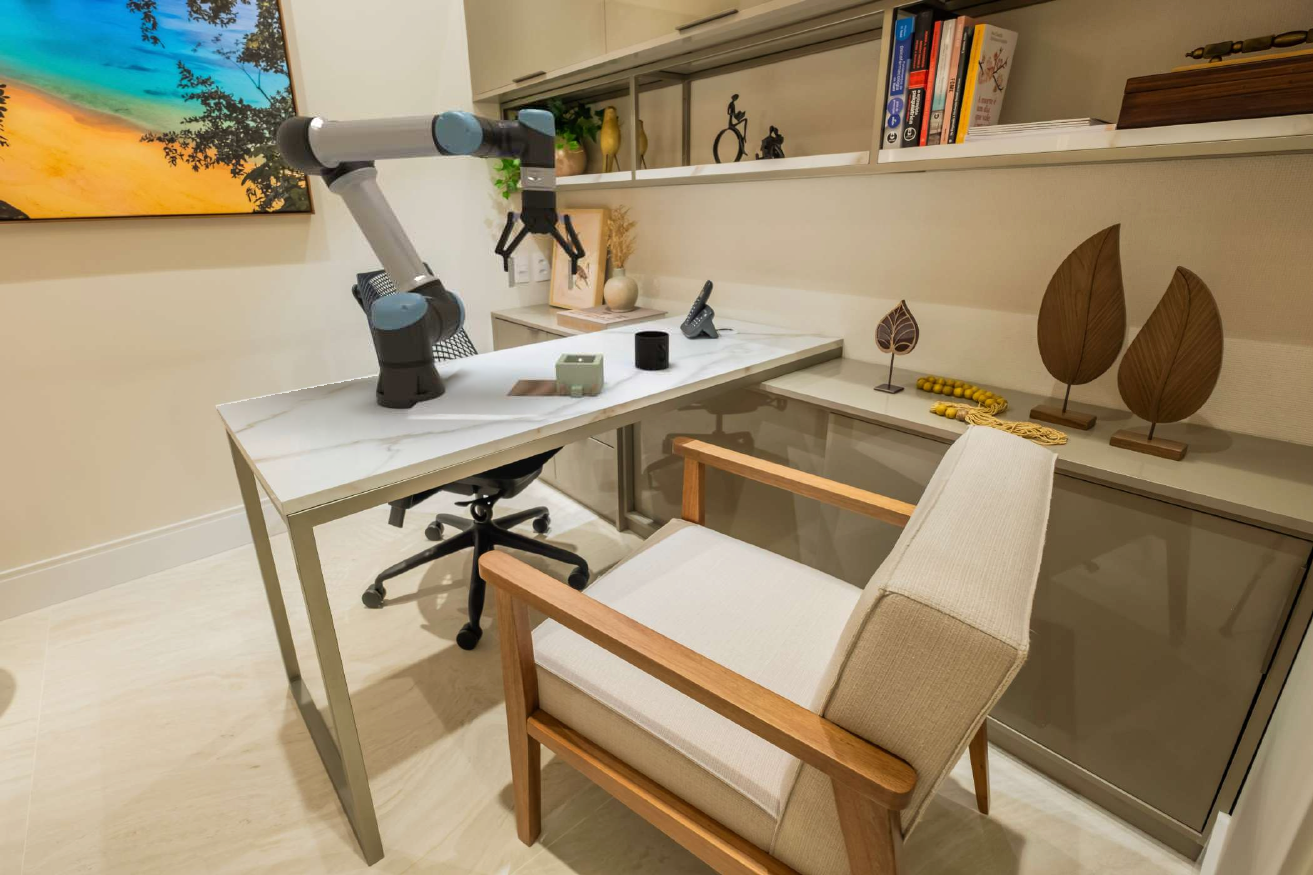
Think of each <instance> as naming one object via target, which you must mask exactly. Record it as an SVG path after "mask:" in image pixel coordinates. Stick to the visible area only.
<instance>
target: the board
mask: <svg viewBox="0 0 1313 875" xmlns="http://www.w3.org/2000/svg"><path fill="white" fill-rule="evenodd" d="M559 385H560V393H557V384H556V379H518V380H517V382H516V383H515V384H514V385H513V387H512V388H511V389H510V391H509V392H508V393H507V394H506V395H505V396H507V397H570V398H572V397H571V393H565V383H564V382H560V383H559ZM583 397H584V398H585V397H587V398H588V397H589V398H590V397H591V398H595V397H596V398H597V397H598V394H595V383H594V382H591V383H590V394H583V396H582V397H581V398H583Z"/></svg>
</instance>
